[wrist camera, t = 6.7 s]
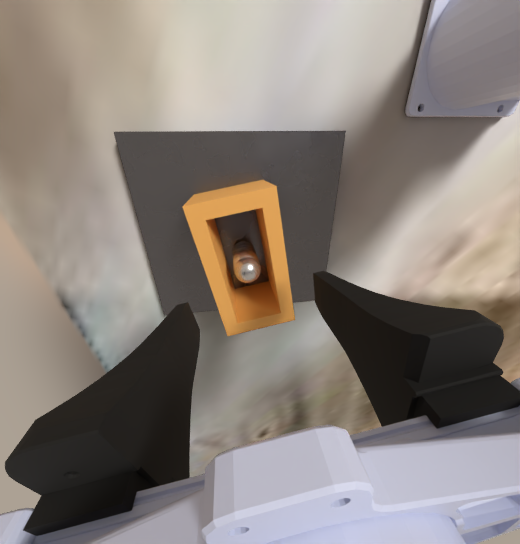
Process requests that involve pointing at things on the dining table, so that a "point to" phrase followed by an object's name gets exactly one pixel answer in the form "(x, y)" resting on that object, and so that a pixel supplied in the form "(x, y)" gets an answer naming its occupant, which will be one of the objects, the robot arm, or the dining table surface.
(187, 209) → the orange hollow rectangular block
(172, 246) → the keeper plate
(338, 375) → the dining table surface
